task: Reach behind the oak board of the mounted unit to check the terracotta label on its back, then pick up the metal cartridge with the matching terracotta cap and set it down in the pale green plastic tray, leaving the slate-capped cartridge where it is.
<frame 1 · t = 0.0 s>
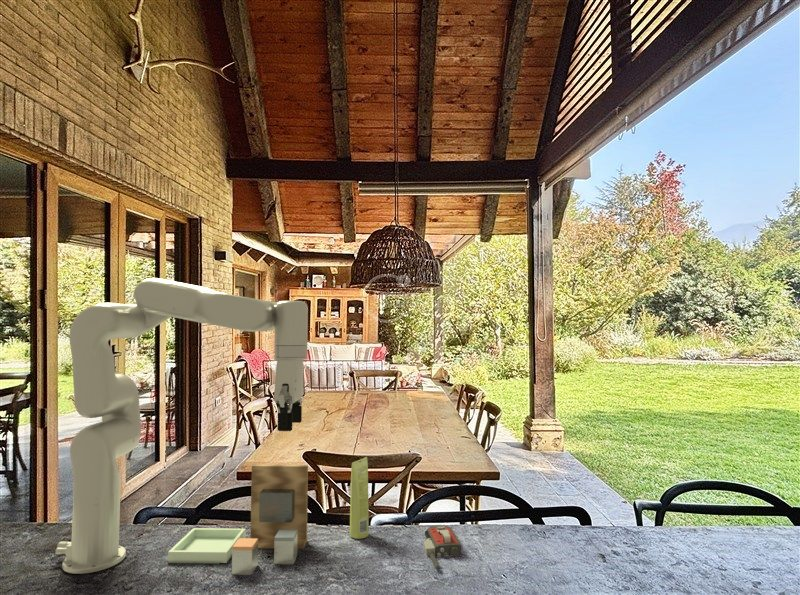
hand: (290, 426, 118), 31 cm above the table, tool pointing down, fingers open, 9 cm apart
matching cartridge: (245, 569, 113), on the table
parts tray: (208, 550, 123), on the table
mounted unit: (277, 544, 126), on the table
tube: (359, 536, 132), on the table
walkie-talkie: (442, 554, 122), on the table
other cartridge: (285, 559, 118), on the table
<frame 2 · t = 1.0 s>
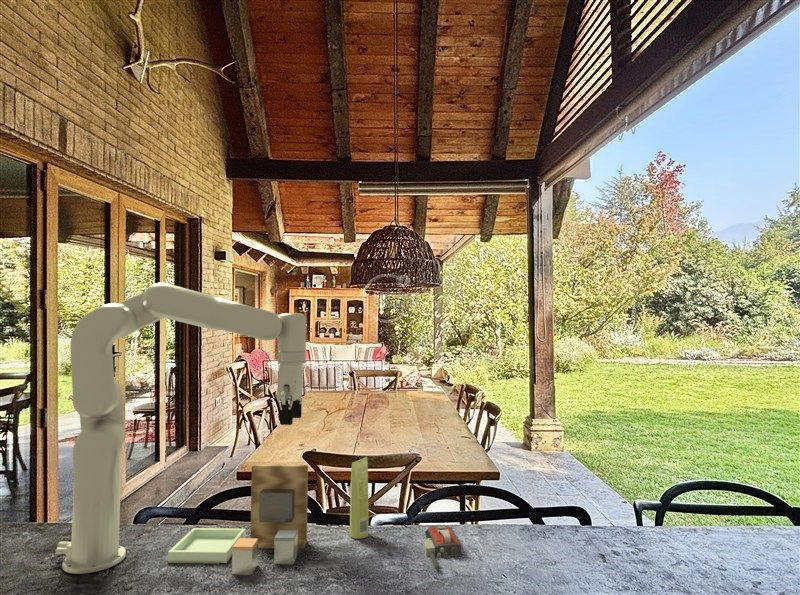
hand: (291, 421, 137), 29 cm above the table, tool pointing down, fingers open, 9 cm apart
nothing on the table moved.
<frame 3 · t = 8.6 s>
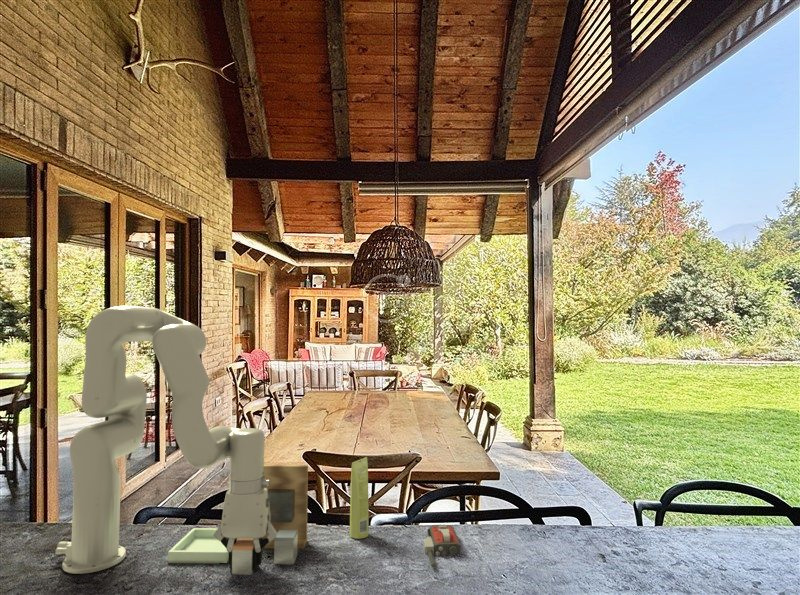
hand: (245, 566, 113), 1 cm above the table, tool pointing down, fingers closed on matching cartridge, 4 cm apart
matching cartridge: (245, 569, 113), on the table, touching gripper
when the fingers open (2 cm above the table, at t = 14.6 s): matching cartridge drops 1 cm, resting on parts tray.
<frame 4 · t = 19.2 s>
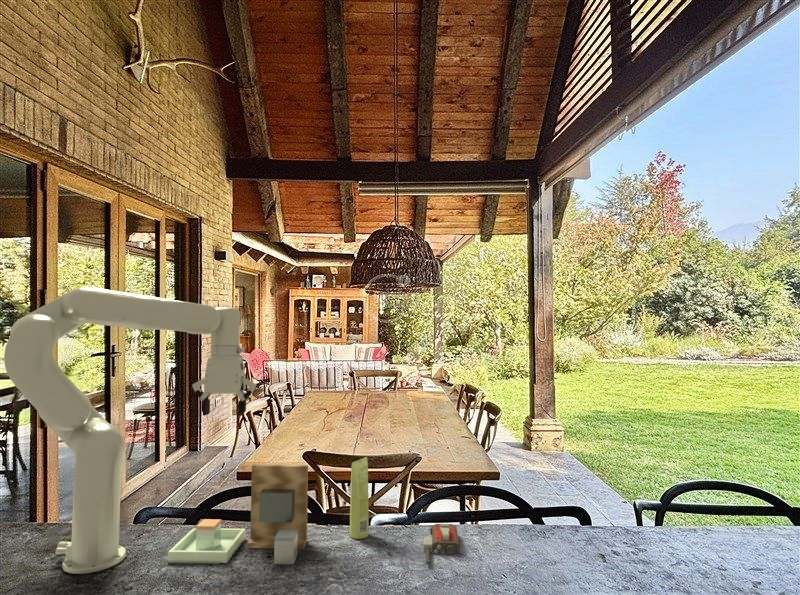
hand: (223, 414, 138), 30 cm above the table, tool pointing down, fingers open, 9 cm apart
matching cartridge: (208, 547, 123), resting on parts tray
at the end: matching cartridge inside the target area on the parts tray (0.1 cm from its centre), point 0.5 cm above the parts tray's base; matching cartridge tilted 0°; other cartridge moved 0.1 cm from its start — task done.
